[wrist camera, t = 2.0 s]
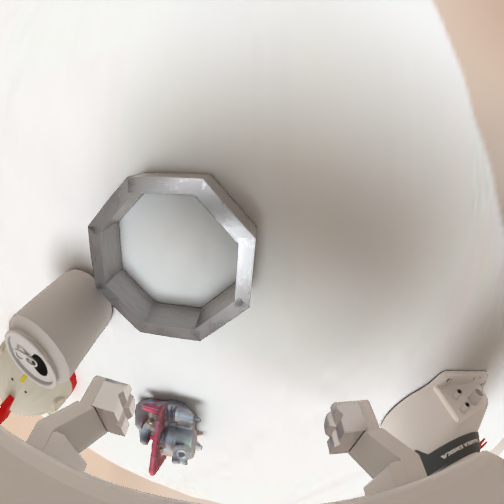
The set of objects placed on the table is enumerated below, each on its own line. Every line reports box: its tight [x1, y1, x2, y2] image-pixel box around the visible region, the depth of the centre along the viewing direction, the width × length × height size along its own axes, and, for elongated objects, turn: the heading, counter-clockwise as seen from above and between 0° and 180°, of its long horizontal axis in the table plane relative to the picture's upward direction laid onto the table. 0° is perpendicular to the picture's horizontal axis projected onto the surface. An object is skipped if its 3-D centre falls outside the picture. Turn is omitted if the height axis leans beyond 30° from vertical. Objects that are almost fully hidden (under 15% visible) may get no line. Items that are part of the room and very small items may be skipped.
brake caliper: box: [135, 398, 203, 476], centre depth 30 cm, size 11×11×12 cm
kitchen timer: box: [0, 340, 77, 424], centre depth 24 cm, size 14×14×15 cm
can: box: [5, 269, 112, 389], centre depth 21 cm, size 8×8×12 cm
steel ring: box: [88, 172, 256, 341], centre depth 23 cm, size 14×14×4 cm
